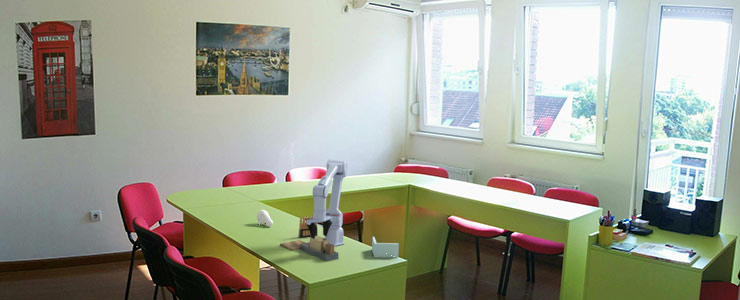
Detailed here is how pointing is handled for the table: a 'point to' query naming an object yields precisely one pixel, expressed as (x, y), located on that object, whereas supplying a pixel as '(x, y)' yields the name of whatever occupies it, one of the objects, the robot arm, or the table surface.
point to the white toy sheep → (264, 218)
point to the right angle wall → (384, 249)
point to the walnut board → (292, 245)
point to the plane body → (325, 254)
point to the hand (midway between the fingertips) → (319, 236)
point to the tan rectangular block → (318, 243)
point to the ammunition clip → (305, 228)
